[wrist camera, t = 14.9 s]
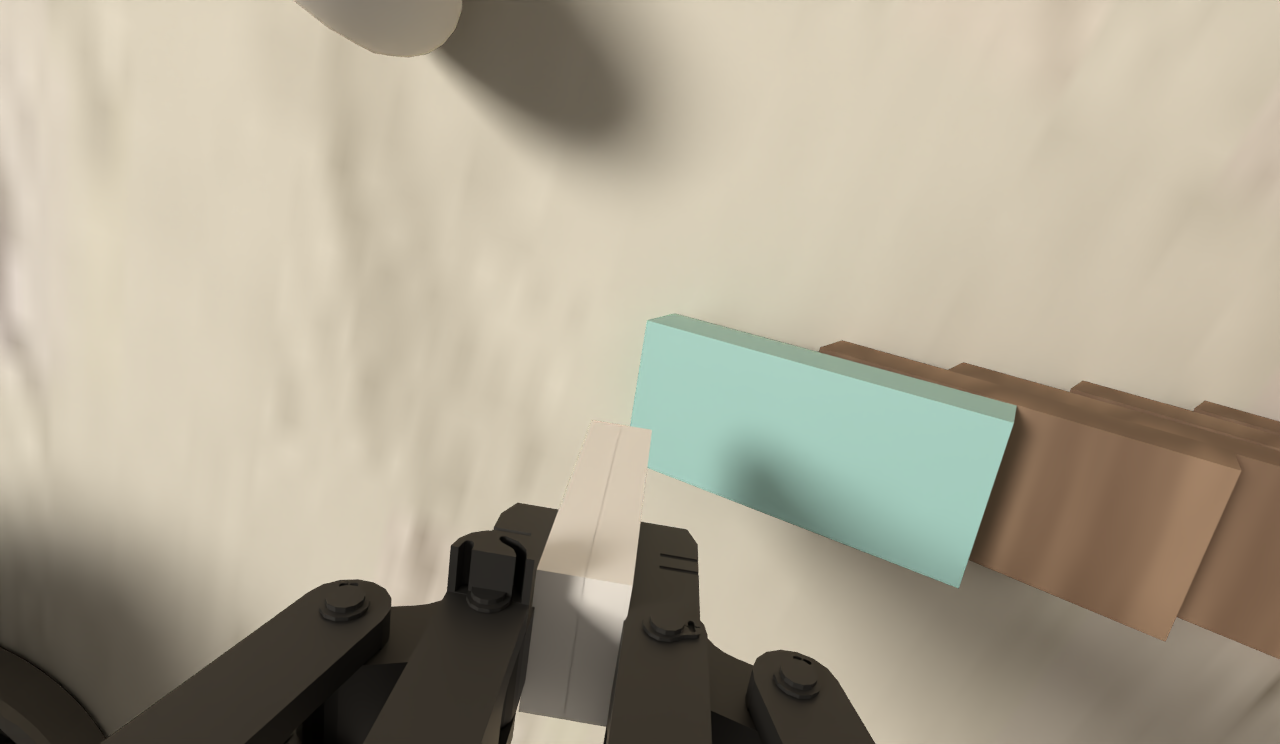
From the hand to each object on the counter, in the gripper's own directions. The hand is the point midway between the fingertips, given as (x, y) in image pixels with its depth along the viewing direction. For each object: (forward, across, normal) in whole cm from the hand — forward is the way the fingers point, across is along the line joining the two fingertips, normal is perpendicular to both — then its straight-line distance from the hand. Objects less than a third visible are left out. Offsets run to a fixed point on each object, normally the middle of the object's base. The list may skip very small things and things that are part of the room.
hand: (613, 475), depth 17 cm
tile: (+8, 0, 0) cm, 8 cm away
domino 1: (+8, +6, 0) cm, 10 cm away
